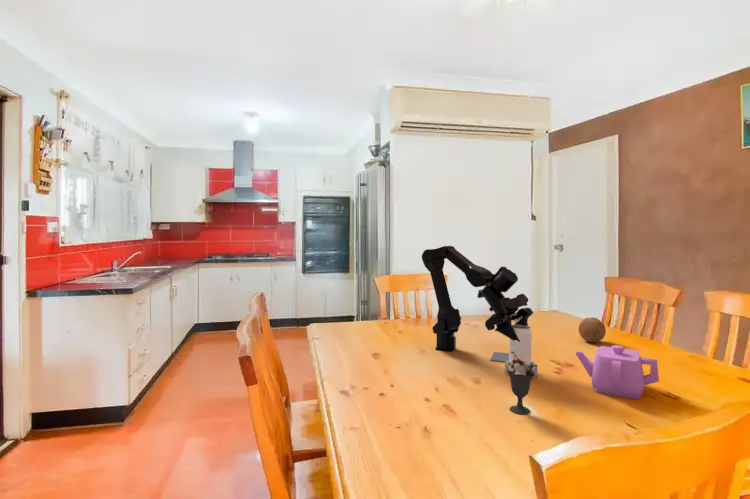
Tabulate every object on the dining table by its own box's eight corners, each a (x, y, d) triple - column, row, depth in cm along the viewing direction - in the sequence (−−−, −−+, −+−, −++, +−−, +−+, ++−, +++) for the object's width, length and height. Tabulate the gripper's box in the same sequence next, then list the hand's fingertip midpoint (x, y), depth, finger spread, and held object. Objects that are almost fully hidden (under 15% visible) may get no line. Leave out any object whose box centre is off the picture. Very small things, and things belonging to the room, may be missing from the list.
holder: (503, 376, 129) (503, 366, 129) (507, 366, 138) (507, 357, 138) (536, 380, 126) (536, 371, 125) (537, 370, 134) (538, 361, 134)
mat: (490, 360, 145) (490, 359, 145) (494, 352, 154) (494, 351, 154) (520, 364, 140) (520, 363, 140) (522, 355, 150) (522, 354, 150)
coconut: (598, 338, 172) (599, 315, 171) (610, 345, 162) (610, 320, 161) (574, 338, 172) (575, 314, 172) (584, 345, 163) (584, 320, 162)
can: (531, 368, 127) (532, 329, 127) (509, 365, 129) (510, 327, 129) (529, 362, 134) (530, 325, 133) (508, 360, 135) (509, 323, 135)
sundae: (501, 405, 109) (502, 349, 108) (526, 404, 109) (527, 348, 108) (512, 416, 102) (513, 357, 101) (538, 415, 103) (539, 356, 102)
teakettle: (616, 403, 109) (617, 357, 109) (571, 380, 126) (572, 340, 125) (667, 396, 114) (669, 352, 113) (617, 375, 130) (618, 336, 129)
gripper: (493, 288, 128) (523, 331, 120) (528, 283, 139) (559, 322, 131) (473, 309, 135) (500, 351, 127) (508, 303, 146) (535, 340, 138)
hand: (525, 340), depth 130 cm, fingers closed on can, 6 cm apart
